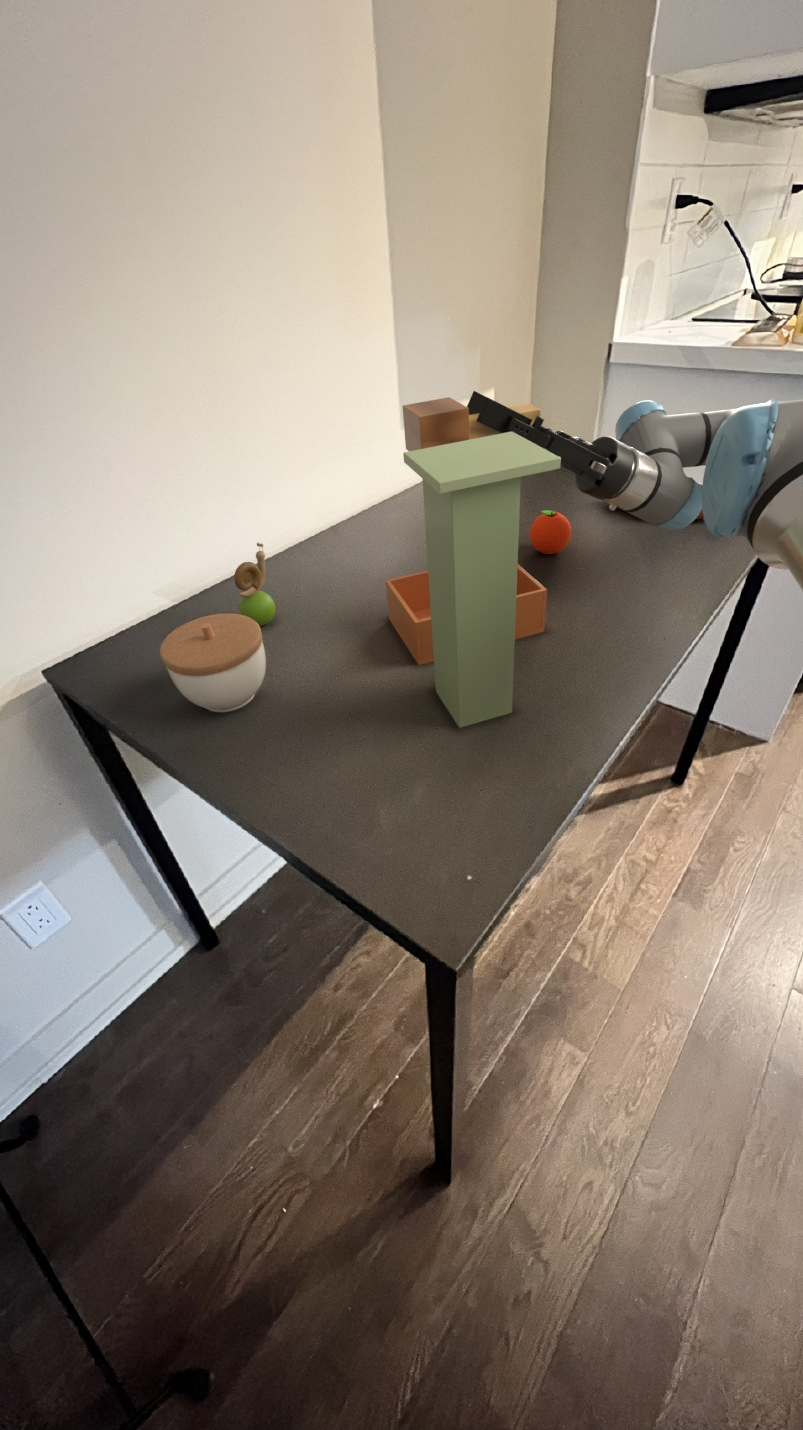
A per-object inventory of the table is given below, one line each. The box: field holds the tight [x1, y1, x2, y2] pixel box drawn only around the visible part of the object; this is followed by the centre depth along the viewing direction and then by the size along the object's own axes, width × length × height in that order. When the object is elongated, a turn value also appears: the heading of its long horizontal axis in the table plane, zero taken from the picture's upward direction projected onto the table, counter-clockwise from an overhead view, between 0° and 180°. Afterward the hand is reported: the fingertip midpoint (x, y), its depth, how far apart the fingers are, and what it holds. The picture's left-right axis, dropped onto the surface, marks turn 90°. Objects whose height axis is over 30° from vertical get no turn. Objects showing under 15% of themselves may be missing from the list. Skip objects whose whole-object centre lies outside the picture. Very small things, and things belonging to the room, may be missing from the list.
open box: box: [385, 563, 548, 666], centre depth 90 cm, size 19×13×7 cm
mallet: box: [402, 396, 542, 452], centre depth 75 cm, size 16×6×5 cm, turn 109°
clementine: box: [529, 509, 572, 555], centre depth 107 cm, size 8×7×7 cm
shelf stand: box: [403, 432, 561, 728], centre depth 69 cm, size 12×10×30 cm
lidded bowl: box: [159, 613, 267, 713], centre depth 80 cm, size 13×13×11 cm
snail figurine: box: [233, 542, 276, 627], centre depth 95 cm, size 5×6×12 cm
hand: (476, 406), depth 74 cm, fingers closed on mallet, 3 cm apart
